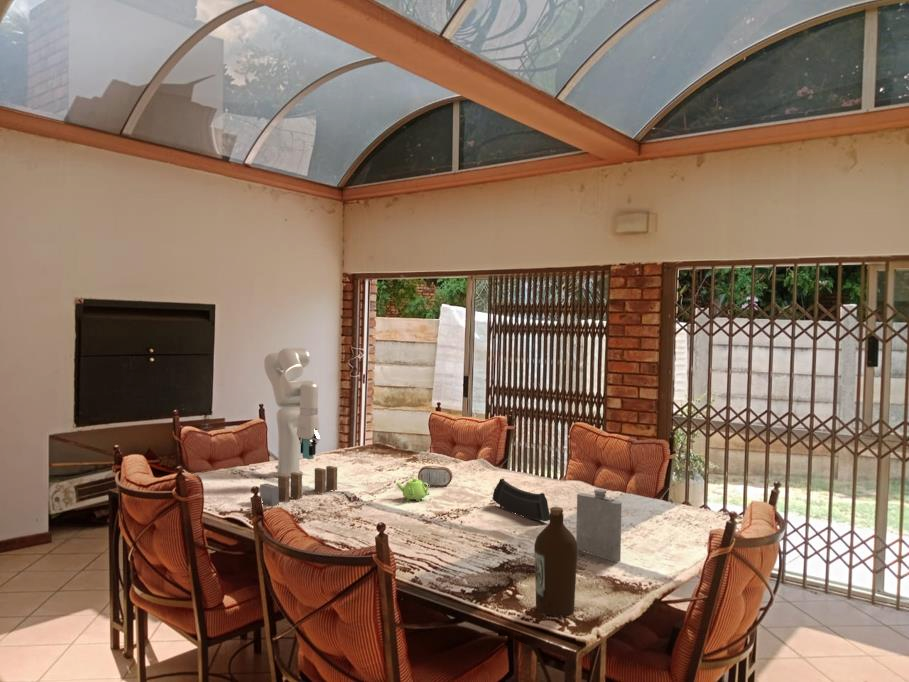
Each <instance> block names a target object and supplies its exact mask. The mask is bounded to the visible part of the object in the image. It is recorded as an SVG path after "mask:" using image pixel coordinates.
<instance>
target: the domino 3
mask: <svg viewBox="0 0 909 682" xmlns="http://www.w3.org/2000/svg"><path fill="white" fill-rule="evenodd" d="M313 438H314V437H313ZM311 439H312V438H311ZM312 442H313V440H312ZM309 446H310V443H309V440H308V439H303V453H302V458H303V459H307V460H313V459H314V455H311V456H310V455H309Z"/></svg>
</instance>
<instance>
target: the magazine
mask: <svg viewBox="0 0 909 682" xmlns="http://www.w3.org/2000/svg"><path fill="white" fill-rule="evenodd" d="M492 501H494V503H496V504H498V505H499V508H503V509H504V510H506V511H508V512H510V513H512V512H513V513H512V514H514V513H516V514H518V515H517V516H519V515H522V516H524V517H523V518H525V517H527V518H526V519H529V520H536V521H541V522H550V508H549V505H548V504H549V503H548V500H547V497H546V495H545V493H543V492H542V493H535V492H534V493H533V492H529V491H526V490H522V489H520V488H518V487H515V486H514V485H512V484H510V483H509V482H508V481H506V480H505V479H504V478H500V479H499V481H498V483H497V484H496V486H495V488H494V489H493V493H492ZM516 514H515V515H516ZM522 516H521V517H522Z"/></svg>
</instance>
